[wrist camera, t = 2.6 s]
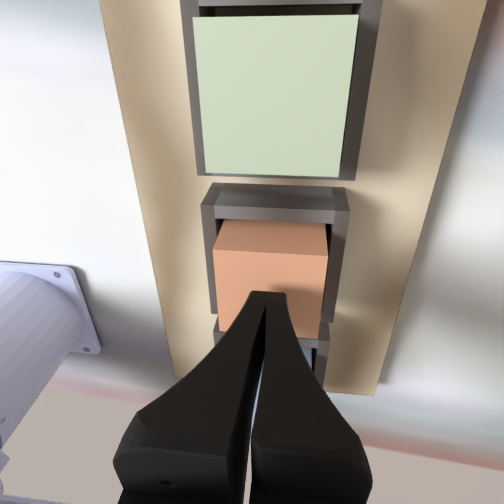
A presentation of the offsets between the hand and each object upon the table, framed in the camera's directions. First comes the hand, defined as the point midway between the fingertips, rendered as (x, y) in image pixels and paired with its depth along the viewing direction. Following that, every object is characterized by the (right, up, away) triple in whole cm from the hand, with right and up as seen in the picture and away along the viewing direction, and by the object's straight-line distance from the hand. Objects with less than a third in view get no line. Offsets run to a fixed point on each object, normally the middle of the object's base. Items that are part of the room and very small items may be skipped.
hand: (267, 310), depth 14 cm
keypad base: (+1, +4, +6) cm, 7 cm away
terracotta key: (0, +2, +3) cm, 4 cm away
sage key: (0, +8, -1) cm, 8 cm away
